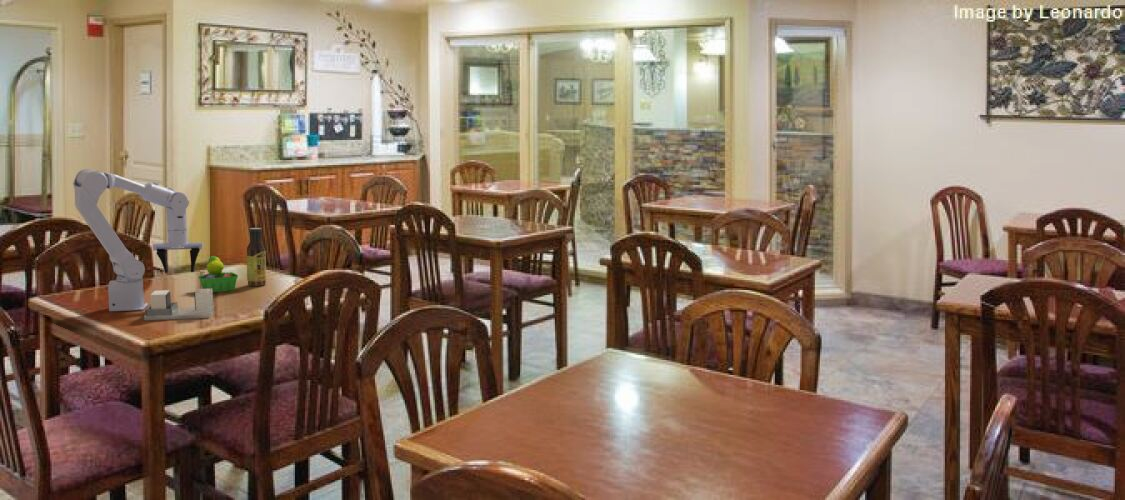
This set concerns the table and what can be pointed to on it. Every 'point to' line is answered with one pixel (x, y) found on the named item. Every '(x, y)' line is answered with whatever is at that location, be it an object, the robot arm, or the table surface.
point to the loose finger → (161, 299)
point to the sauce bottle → (256, 259)
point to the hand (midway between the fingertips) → (179, 272)
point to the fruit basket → (217, 277)
